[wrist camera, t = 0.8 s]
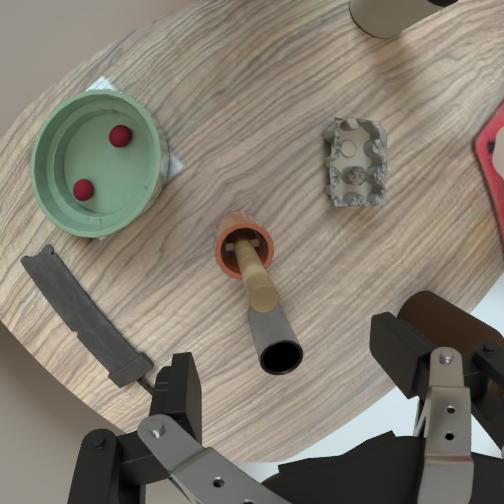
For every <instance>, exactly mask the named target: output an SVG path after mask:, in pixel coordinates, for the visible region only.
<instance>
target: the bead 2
mask: <svg viewBox="0 0 504 504" xmlns="http://www.w3.org/2000/svg"><path fill="white" fill-rule="evenodd" d="M130 139H131V131H130V129H129V128H128V127H127V126H125V125H117V126H115V127H114V128H112V130H111V131H110V133H109V141H110V143H111V145H113V146H114V147H117V148H121V147H124V146H126V145H127V144H128V143H129V141H130Z"/></svg>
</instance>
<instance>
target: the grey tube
mask: <svg viewBox="0 0 504 504" xmlns="http://www.w3.org/2000/svg"><path fill="white" fill-rule="evenodd" d="M248 320H249V324H250V328H251V332H252V335H253V339H254V343H255V347H256V351H257V355H258V358H259V362H260V365H261V367H262V369H263V370H264V371H265V372H267V373H269V374H272V375H284V374H287V373H290V372H292V371H293V370H295V369H296V368H297V367H298V366H299V365H300V363H301V361H302V359H303V350H302V348H301V346H300V344H299V342H298V340H297V338H296V336H295V334H294V332H293V330H292V328H291V326H290V324H289V322H288V320H287V318H286V316H285V314H284V312H283V310H282V308H281V306H280V305H279V303H278V304H277V305H276V307H275V308H274V309H272V310H271V311H269V312H264V313H262V312H257V311H255V310H254V309H253V308H252V307H251V306H250V308H249V310H248Z"/></svg>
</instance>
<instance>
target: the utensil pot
mask: <svg viewBox="0 0 504 504" xmlns="http://www.w3.org/2000/svg"><path fill="white" fill-rule="evenodd" d="M240 228H243V229H244V230H249V229H252V230H253V232H254V233H255V235H256V236H257V238H258V240H259V246H256V247H254V249H255V251H256V253H257V255H258V256H259V258H260V260H261V262H262V264H263V266H264V268H265V269H267V268H268V266H269V265H270V264H271V261H272V258H273V255H274V247H273V241H272V239H271V237H270V236H269V234H268V232H267V231H266V230H265V229H264V228H263V226H262V225H261V224H260V223H259V222H258V221H257V220H256V219H255V218H254V217H253V216H252V215H250V214H249V213H246V212H243V211H233V212H229V213H227V214H225V215H224V216H223V217H222V218H221V219H220V220H219V221H218V223H217V225H216V227H215V232H214V242H215V255H216V261H217V263H218V265H219V266H220V268H221V269H222V271H223V272H225V273H226V274H228V275H229V276H231V277H233V278H237V279H242V276H241V272H240V269H239V265H238V262H237V258H236V255H235V251H234V250H231V251H226V249H225V244H224V239H225V238H226V237H227V235H228V234H229V233H231V232H233V231H234V230H236V229H240ZM242 280H243V279H242Z"/></svg>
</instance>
